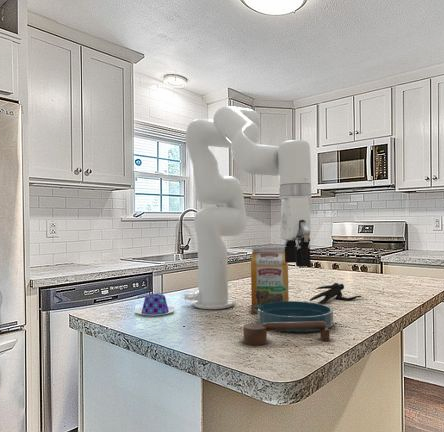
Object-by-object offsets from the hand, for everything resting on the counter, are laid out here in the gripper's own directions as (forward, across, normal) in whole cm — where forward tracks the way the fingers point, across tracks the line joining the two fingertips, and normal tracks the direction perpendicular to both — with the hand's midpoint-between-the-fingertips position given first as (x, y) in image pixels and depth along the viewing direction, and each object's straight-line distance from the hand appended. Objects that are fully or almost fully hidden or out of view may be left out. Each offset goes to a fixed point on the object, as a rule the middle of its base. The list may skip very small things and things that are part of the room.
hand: (297, 264), depth 98 cm
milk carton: (+17, -28, -1) cm, 32 cm away
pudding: (+16, -28, -36) cm, 48 cm away
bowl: (+17, -10, +2) cm, 20 cm away
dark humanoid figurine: (+17, -35, +23) cm, 45 cm away
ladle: (+17, +4, -4) cm, 18 cm away
